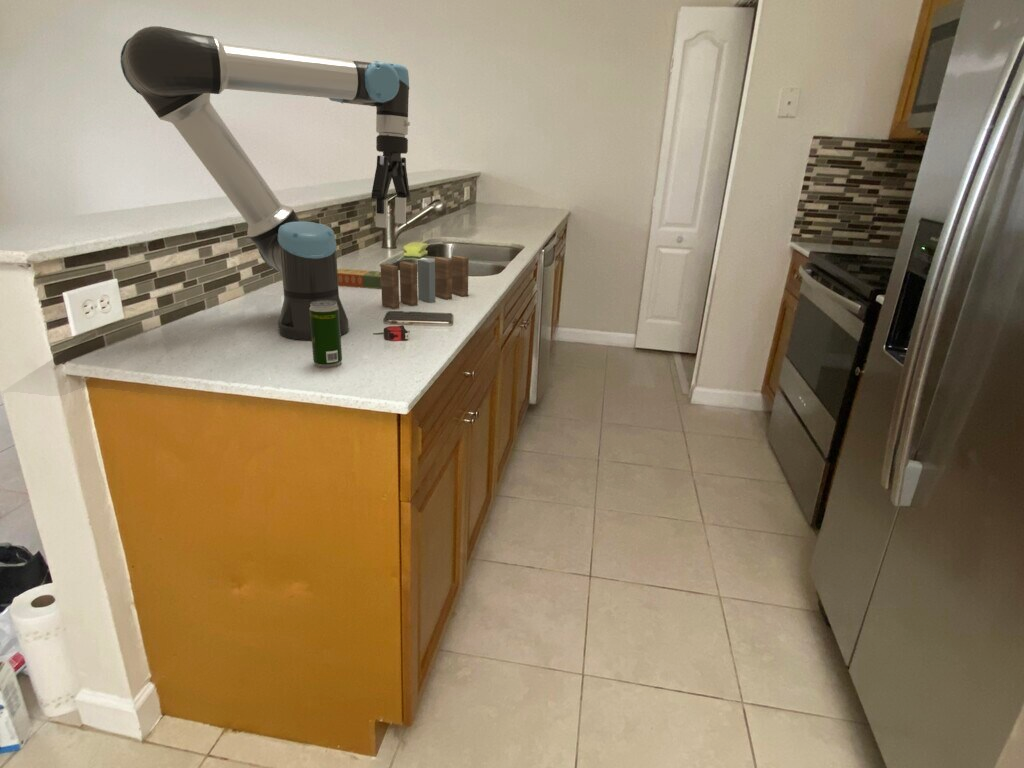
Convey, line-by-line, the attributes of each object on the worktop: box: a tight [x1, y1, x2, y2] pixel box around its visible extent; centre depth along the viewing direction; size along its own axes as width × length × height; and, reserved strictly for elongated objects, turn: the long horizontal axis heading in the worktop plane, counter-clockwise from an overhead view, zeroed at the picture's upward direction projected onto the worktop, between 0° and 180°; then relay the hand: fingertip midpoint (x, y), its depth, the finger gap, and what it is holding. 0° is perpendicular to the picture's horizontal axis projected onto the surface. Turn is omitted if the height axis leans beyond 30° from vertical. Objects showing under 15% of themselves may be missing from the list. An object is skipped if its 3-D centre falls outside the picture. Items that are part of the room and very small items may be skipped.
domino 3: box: [417, 258, 436, 304], centre depth 171 cm, size 2×5×11 cm, turn 45°
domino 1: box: [380, 263, 400, 310], centre depth 163 cm, size 2×5×11 cm, turn 45°
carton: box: [337, 268, 381, 290], centre depth 188 cm, size 8×16×4 cm, turn 82°
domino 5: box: [451, 255, 469, 298], centre depth 179 cm, size 2×5×11 cm, turn 45°
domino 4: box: [434, 256, 453, 301], centre depth 175 cm, size 2×5×11 cm, turn 45°
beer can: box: [309, 300, 343, 369], centre depth 119 cm, size 5×5×12 cm
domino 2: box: [399, 260, 419, 307], centre depth 167 cm, size 2×5×11 cm, turn 45°
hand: (391, 225), depth 158 cm, fingers open, 13 cm apart
